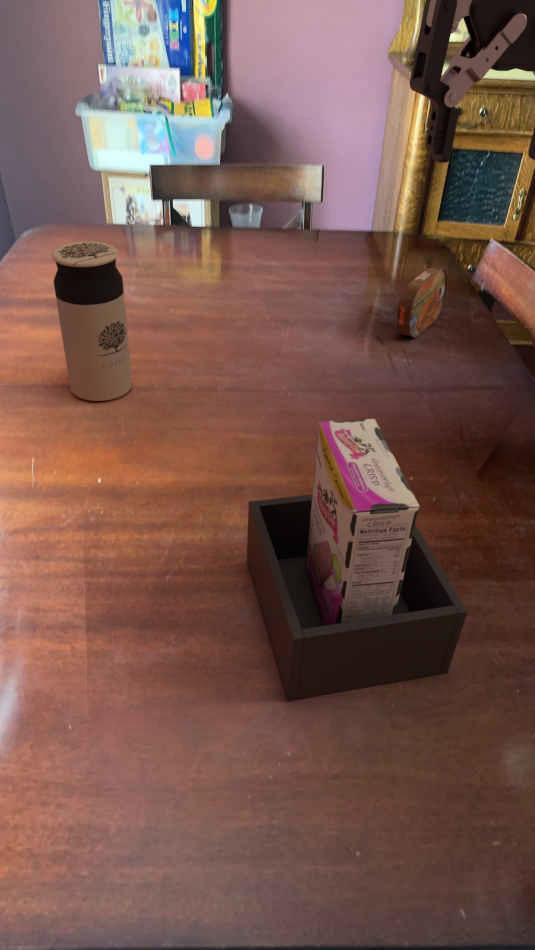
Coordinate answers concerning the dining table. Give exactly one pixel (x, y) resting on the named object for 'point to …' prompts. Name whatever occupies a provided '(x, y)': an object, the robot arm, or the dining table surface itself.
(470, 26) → the robot arm
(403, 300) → the tin
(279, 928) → the dining table surface
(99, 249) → the travel mug
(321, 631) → the basket
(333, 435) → the candy bar box
